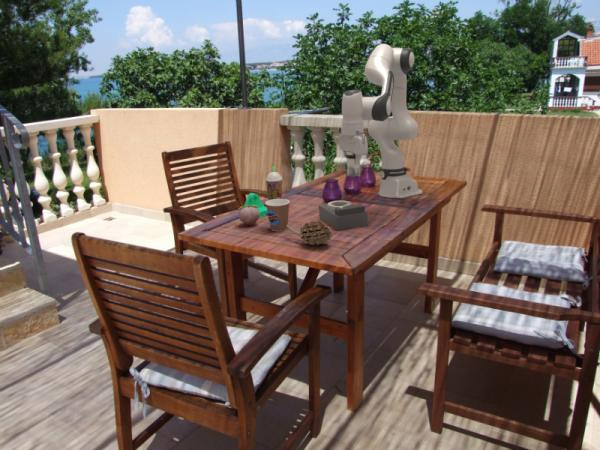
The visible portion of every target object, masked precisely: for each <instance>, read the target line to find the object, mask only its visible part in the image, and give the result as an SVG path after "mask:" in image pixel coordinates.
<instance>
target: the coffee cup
mask: <svg viewBox="0 0 600 450" xmlns="http://www.w3.org/2000/svg"><path fill="white" fill-rule="evenodd" d="M290 202H291V201H290V200H289V199H285V198H282V199H273V200H269V201H268V200H266V201H265V207H267V212H268V213H267V216H268V221H269V222H268V223H269V226H270V229H271V231H272V232H277V231H278V232H284V230H285V231H287V230H288V229H287V227H286V226H287V225H288V226H289V213H290V211H289V210H290Z"/></svg>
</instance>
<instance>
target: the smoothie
mask: <svg viewBox="0 0 600 450" xmlns="http://www.w3.org/2000/svg"><path fill="white" fill-rule="evenodd" d="M265 183H266V185H265V186H266V192H267V198H268V199H267V201H269V200H273V199H283V177H282V175H281V174H280V173H279V172H278V171H275V167H274V166H273V165H272V171H271V172H269V173H268V174H267V175H266V178H265Z"/></svg>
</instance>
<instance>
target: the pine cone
mask: <svg viewBox="0 0 600 450" xmlns="http://www.w3.org/2000/svg"><path fill="white" fill-rule="evenodd" d="M329 226H330V225H328V226H327V225H326V224H325V222H324V221H323V222H322V220H320V219H316V220H312V221H310V222H305V223H304V224H303V226H301V227H300V230H299V231H297V230H296V229H293V228H292V227H291V226H290V225H289V224H288V225H287V226H286V227H287V229H286V230H288V231H290V232H291V233H292V234H294V235H296V236H300V239H301V240H302V241H303V243H304V244H306V245H307V244H308V245H313V246H315V244H316V245H317V246H319V245H321V244H324V245H325V244H327V243H328V241H330V240H331V239H332V238H333V231H332V230H331V229H330V227H329Z"/></svg>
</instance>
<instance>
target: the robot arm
mask: <svg viewBox="0 0 600 450" xmlns="http://www.w3.org/2000/svg"><path fill="white" fill-rule="evenodd" d="M414 63H415V54H414V51H413V50H412V49H411V48H408V47H392V46H391V45H388V44H387V43H381V44H378V45H376V46H375V48H374V49H373V50H371V51H370V53H369V54H368V56H367V62H366V63H365V67H364V75H365V77H366V79H367V80H368V81H369V82H370V83H372V84H373V85H375V86H379V87H381V93H380V95H378V96H363V94H362V93H363V92H362V91H361V90H360V89H350V90H349V89H348V90H346V91H345V92H343V94H342V101H341V114H342V121H341V126H340V127H338V128H337V133H338V147H339V149H340V150H341V151H343V152H345V156H346V157H347V155H346V154H347V151H349V152H351V153H354V154H355V156H356V158H355V160H354V164H356V165H358V164H361V163H360V162H361V161H360V160H361V157H362V156H366V155H368V153H369V150H368V149H369V145H368V139H367V136H366V135H365V134H364V121H370V122H369V123H368V125H367V131H368V134H369V136H370V137H371V138H372V139H373V140H374V141H375V142H376V144H377V145H378V148H379V151H380V156H381V167H380V186H379V190H378V195H379V196H380V197H383V198H393V199H394V198H396V199H404V198H409V197H413V196H417V195H422V194H423V190H422V189H420V188H419V184H418V182H417V180H416V179H415V178H413V177H412V176H410V175H409V174H408V173H410V172H411V168H410V167H406V166H404V165H405V163H404V162H405V158H404V157H405V154H404V151H403V149H402V148H400V147H398V146H397V145H396V143H395V141H410V140H413V139H415V138H416V137H417V135H418V133H419V125H418V122H417V121H416V120H415V119H414V118H413V117H412V115H410V112H409V110H408V108H407V107H408V106H407V89H408V88H407V85H408V83H407V82H408V81H407V80H408V79H407V74H408V72H410V71H411V70H412V69H413V67H414ZM391 113H392V114H391ZM391 115H392V117H390V116H391Z"/></svg>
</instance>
